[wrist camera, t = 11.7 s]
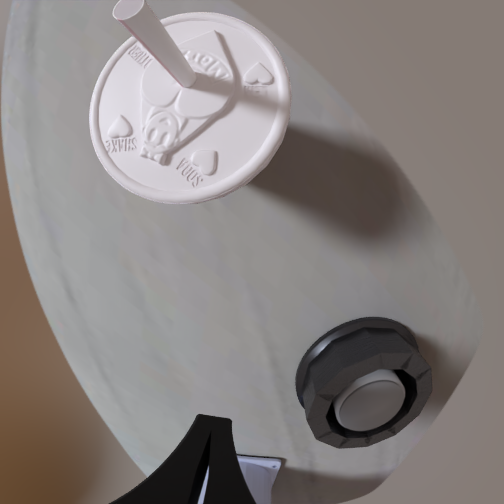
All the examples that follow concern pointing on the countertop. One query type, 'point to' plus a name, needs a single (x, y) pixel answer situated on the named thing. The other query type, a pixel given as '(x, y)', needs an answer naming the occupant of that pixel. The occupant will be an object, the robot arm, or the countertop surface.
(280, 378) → the countertop surface
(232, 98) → the smoothie
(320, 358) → the dark grey pot
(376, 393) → the cap
